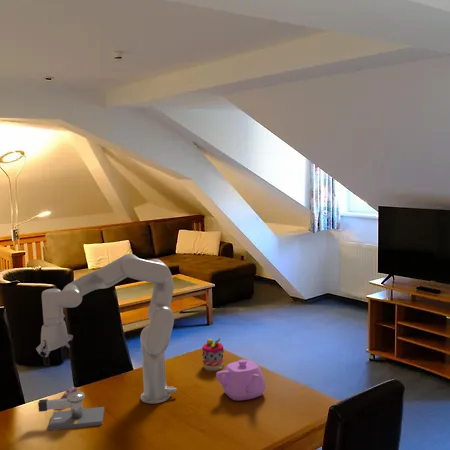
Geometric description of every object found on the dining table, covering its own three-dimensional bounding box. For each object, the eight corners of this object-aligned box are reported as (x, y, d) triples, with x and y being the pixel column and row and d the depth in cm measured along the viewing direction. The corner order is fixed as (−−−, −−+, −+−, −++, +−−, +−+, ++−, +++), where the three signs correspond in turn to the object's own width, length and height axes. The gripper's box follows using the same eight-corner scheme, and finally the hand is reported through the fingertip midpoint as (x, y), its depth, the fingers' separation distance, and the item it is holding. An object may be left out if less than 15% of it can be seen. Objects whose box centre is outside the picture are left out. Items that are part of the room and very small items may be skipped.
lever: (86, 411, 204) (84, 390, 203) (84, 418, 198) (83, 397, 197) (41, 415, 201) (40, 395, 200) (38, 423, 195) (36, 402, 194)
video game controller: (63, 410, 213) (69, 396, 211) (54, 405, 213) (60, 391, 212) (75, 399, 222) (81, 386, 221) (66, 394, 223) (72, 381, 221)
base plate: (104, 410, 208) (104, 406, 208) (102, 424, 196) (101, 420, 196) (53, 415, 205) (53, 411, 205) (48, 430, 193) (48, 426, 193)
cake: (200, 371, 245) (199, 341, 243) (205, 362, 255) (204, 333, 253) (222, 371, 243) (221, 341, 241) (225, 363, 253) (224, 334, 252)
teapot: (210, 392, 221) (208, 359, 220) (253, 382, 229) (252, 350, 228) (230, 415, 200) (229, 378, 199) (277, 403, 209) (276, 368, 207)
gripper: (64, 313, 210) (67, 352, 212) (28, 325, 196) (32, 367, 198) (77, 315, 206) (79, 356, 208) (41, 327, 192) (45, 371, 194)
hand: (56, 361), depth 203 cm, fingers open, 9 cm apart
